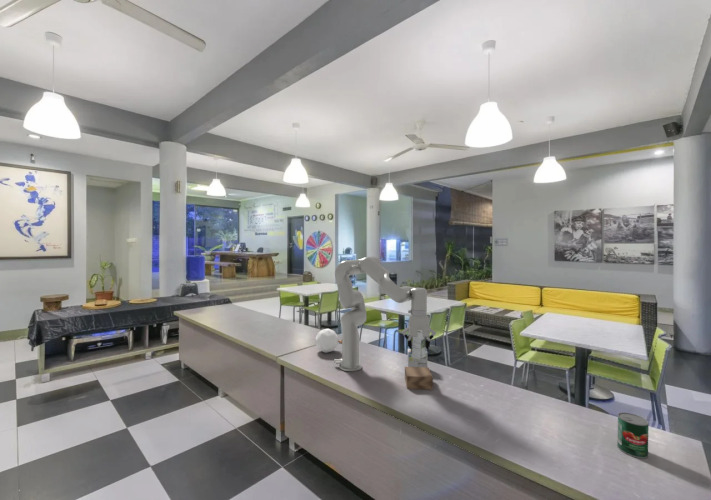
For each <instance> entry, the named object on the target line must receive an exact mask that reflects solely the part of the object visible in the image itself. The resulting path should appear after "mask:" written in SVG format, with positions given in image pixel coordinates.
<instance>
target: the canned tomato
mask: <svg viewBox="0 0 711 500" xmlns="http://www.w3.org/2000/svg"><path fill="white" fill-rule="evenodd" d="M649 425H650V422H649V420H647V419H646V418H644V417H643V416H640V415H638V414H633V413H631V412H623V411H622V412H618V413H617V444H616V445H617V448H618V450H620V451H621V452H622V453H624V454H625V455H628V456H631V457H632V458H633V457H634V458H637V459H646V458H648V457H649V427H650V426H649Z"/></svg>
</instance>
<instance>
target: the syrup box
mask: <svg viewBox="0 0 711 500" xmlns="http://www.w3.org/2000/svg"><path fill="white" fill-rule="evenodd" d="M417 332H418V336H417V337H412V338H411V356H410V357H412V358H416V359H420V360H421V359H423V358H424V357H426V351H427V348H426V339H427V338H426V337H423V330H417Z"/></svg>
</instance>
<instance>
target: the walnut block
mask: <svg viewBox="0 0 711 500" xmlns="http://www.w3.org/2000/svg"><path fill="white" fill-rule="evenodd" d="M433 379H434V377H433V374H432V373H431V370H430V368H429V367H428V366H427V367H408V366H404V380H405V381H404V382H405V385H406V389H409V390H433V385H434V381H433Z"/></svg>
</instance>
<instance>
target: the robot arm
mask: <svg viewBox="0 0 711 500" xmlns="http://www.w3.org/2000/svg"><path fill="white" fill-rule="evenodd" d="M336 265H337V264H336ZM362 274H366V276H368V277H369V278H370V279H372V280H373V281H374V282H376V283H377V284H378V285H379V287H380V290H381V291H382V292H383V293H384V294H385V295H386V296H387V297H388V298H390V299H391V300H392V301H394V302H396V303H398V304H403V303H405V302H409V301H410V303H411V304H410V306H411V307H410V310H408V309H407V310H408V311H407V312H408V313H407V314H409V319H408V327H406V328H404V329H403V330H402V331H401V334H402V335H403V336H404V338H405V339H406V340H407V347H408V348H409V349H411V338H412V337H417V336H418V332H417V330H423V337H426V350H429V348H430V343H431V341H432V339H433V338H434V337H435V336H436V334H437V333H436V331H435V330H434V329H432V328H430V327H431V326H430V319H429V315H427V313H428V312H427V311H428V310H427V307H428V306H427V303H428V302H427V301H428V291H427V289H426V288H424V287H414V286H409V285H408V286H407V285H405V286H404V285H403V286H401V287H400V286H399V285H397V284H396V282H394V281H393V280H392V278H390V271H389V270H387V269H386V268H385V267H384V266H383V265H382V262H381V260H380V259H379V258H378V257H376V256H365V257H363V258H359V259H348V260H347V259H346V260H342V261H341V262H340V263H338V265H337V266H336V268H335V269H334V278H335V283H336V284H337V285H336V287H337V293H338V298H339V303H340V306H341V308H343V309H345V310H348V311H346V312H344V313H343V314H342V316H341V317H340V325H341V327H340V328H341V336H342V337H341V340H342V344H341V349H342V350H341V358H339V359H337V358H334V360H333V361H334V363H335V365H339V367H338V368H339V369H340V370H341V371H343V372H357V371H360V370H361V369H362V368H363V367H362V366H363V365H362V364H361V363H360V333H359V329H358V326H362V325H364V324H365V323H366V321H367V315H368V314H367V309H366V304H365V298H364V295H363V294H362V292H360V291H359V290H357V289H354V287H353V282H352V280H351V278H350V276H355V275H362ZM349 309H350V310H349ZM407 333H408V335H407Z"/></svg>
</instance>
